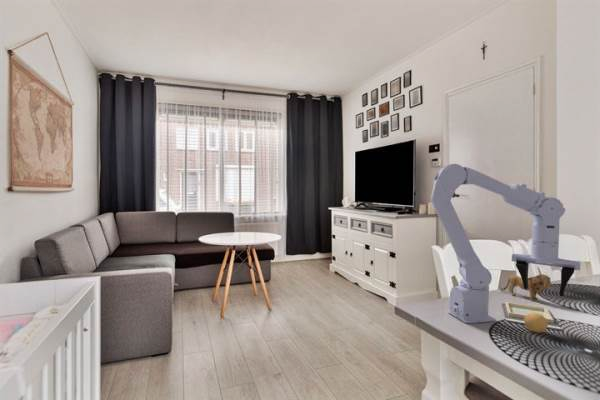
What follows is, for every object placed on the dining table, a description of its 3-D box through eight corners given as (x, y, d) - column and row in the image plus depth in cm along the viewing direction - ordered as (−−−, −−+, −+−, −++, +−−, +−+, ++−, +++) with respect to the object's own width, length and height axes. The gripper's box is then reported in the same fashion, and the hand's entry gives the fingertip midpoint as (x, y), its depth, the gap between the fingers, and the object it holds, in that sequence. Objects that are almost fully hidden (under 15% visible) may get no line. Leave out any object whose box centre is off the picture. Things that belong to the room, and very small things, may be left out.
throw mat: (561, 331, 81) (561, 326, 81) (506, 321, 87) (506, 316, 87) (548, 311, 95) (549, 306, 95) (501, 304, 101) (501, 300, 101)
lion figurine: (553, 302, 103) (554, 274, 103) (547, 305, 100) (547, 277, 100) (504, 290, 115) (504, 265, 115) (497, 292, 112) (497, 267, 112)
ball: (535, 336, 78) (536, 317, 78) (519, 328, 83) (519, 310, 83) (552, 335, 79) (552, 316, 79) (534, 327, 84) (535, 309, 84)
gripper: (581, 243, 83) (579, 294, 83) (515, 237, 93) (513, 283, 93) (580, 246, 78) (578, 301, 78) (510, 239, 88) (509, 288, 88)
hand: (543, 291), depth 85 cm, fingers open, 7 cm apart
